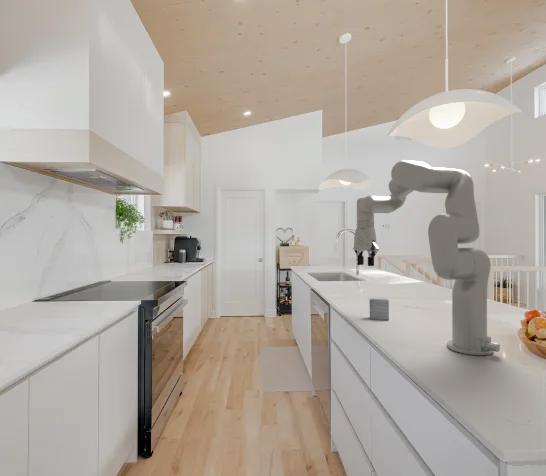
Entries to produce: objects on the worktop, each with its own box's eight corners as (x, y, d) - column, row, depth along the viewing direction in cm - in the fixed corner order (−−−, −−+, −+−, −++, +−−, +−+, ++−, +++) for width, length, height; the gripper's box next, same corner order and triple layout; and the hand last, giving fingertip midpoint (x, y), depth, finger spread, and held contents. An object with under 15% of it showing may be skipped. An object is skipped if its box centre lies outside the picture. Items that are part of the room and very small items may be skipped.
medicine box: (388, 318, 152) (388, 298, 152) (389, 320, 148) (388, 300, 148) (369, 317, 155) (369, 297, 155) (369, 319, 150) (369, 299, 150)
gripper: (346, 225, 164) (346, 264, 164) (373, 224, 149) (373, 267, 149) (358, 226, 168) (358, 263, 168) (385, 224, 152) (386, 266, 152)
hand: (365, 265), depth 158 cm, fingers open, 5 cm apart
